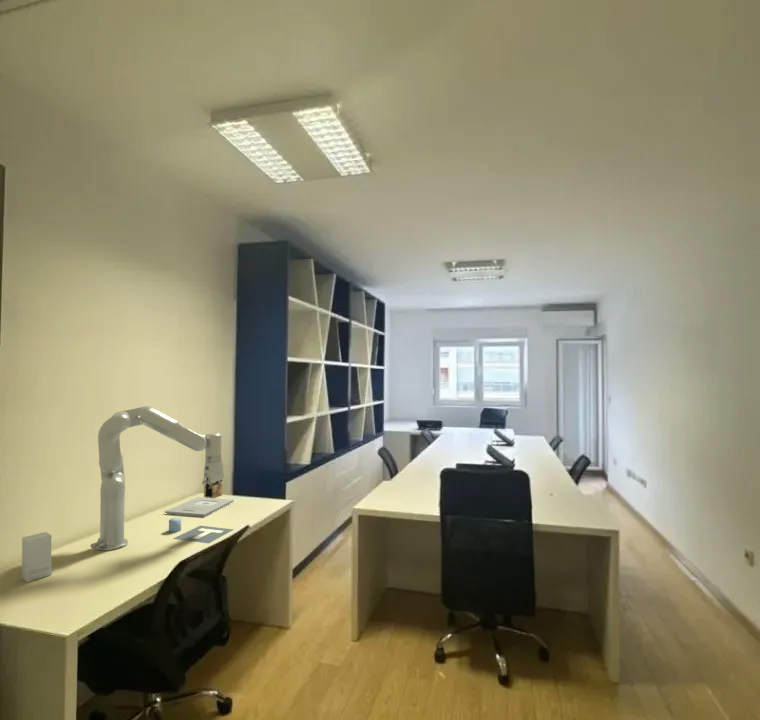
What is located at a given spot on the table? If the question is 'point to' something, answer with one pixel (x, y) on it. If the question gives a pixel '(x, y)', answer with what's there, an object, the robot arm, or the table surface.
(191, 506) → the award plaque
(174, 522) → the blue canister
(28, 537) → the skincare box
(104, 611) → the table surface
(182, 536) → the letter mat
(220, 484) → the oak block
